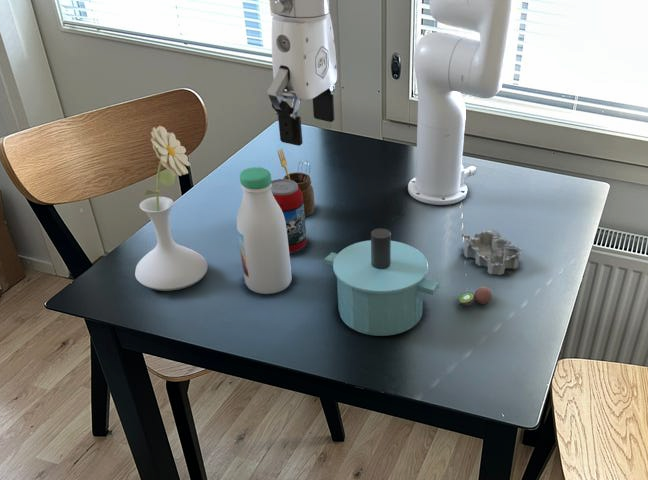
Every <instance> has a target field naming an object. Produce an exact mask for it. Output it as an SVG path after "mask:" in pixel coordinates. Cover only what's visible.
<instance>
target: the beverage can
mask: <svg viewBox="0 0 648 480" xmlns="http://www.w3.org/2000/svg"><path fill="white" fill-rule="evenodd" d="M271 183H272V187H271V192H272V194H273V196H274V198H275V200H276V202H277V203H278V205H279V206H280V208H281V210H282V212H283V215H284V218H285V222H286V229H287V237H288V246H289V254H291V253H295V252H298V251H299V250H301V249H303V248H304V247H306V244H307V229H306V216H305V215H304V204H303V194H302V191H301V190H300V189H299V187H298V184H297V183H296V182H294V181H292V180H289V179H284V178H277V179H273V180H271Z"/></svg>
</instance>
